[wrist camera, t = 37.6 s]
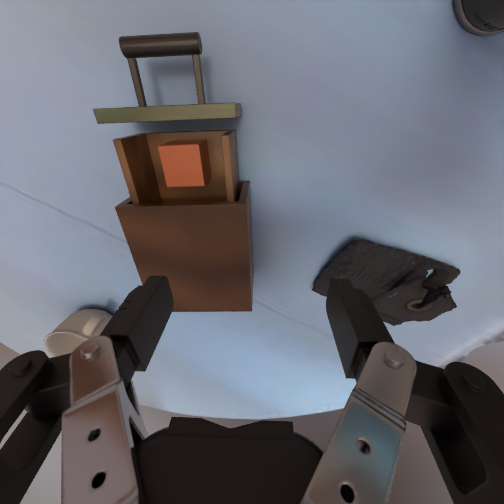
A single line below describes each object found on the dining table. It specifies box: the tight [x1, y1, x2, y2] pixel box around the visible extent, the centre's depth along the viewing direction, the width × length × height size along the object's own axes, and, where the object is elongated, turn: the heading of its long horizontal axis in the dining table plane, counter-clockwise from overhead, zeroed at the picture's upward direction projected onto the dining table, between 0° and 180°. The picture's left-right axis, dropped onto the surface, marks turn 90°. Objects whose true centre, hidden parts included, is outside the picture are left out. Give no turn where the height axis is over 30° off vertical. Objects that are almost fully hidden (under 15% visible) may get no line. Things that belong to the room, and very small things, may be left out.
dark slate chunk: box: [312, 240, 460, 326], centre depth 39 cm, size 15×22×5 cm
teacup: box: [45, 309, 113, 357], centre depth 45 cm, size 14×11×8 cm
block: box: [158, 139, 211, 187], centre depth 28 cm, size 4×4×4 cm
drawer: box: [93, 32, 241, 204], centre depth 27 cm, size 20×13×7 cm, turn 2°
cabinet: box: [115, 181, 254, 312], centre depth 33 cm, size 16×14×9 cm
